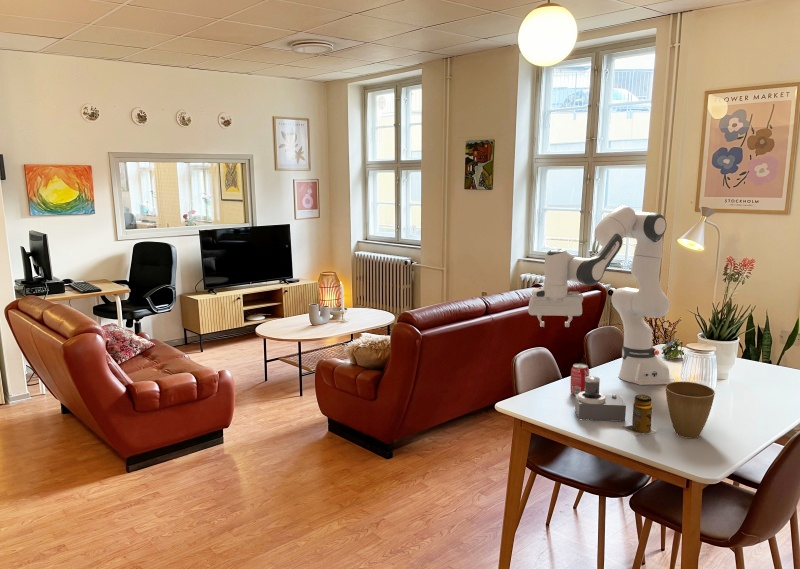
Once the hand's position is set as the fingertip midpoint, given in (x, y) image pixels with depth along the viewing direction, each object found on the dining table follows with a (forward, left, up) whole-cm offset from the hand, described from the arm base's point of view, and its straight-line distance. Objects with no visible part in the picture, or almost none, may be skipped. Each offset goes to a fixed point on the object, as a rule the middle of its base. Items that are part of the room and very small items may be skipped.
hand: (554, 326), depth 234 cm
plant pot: (-41, +31, -29) cm, 59 cm away
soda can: (-11, -5, -29) cm, 32 cm away
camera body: (-15, +17, -29) cm, 37 cm away
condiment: (-26, +29, -29) cm, 49 cm away
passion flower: (-63, -62, -29) cm, 93 cm away
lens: (-12, +17, -23) cm, 31 cm away
